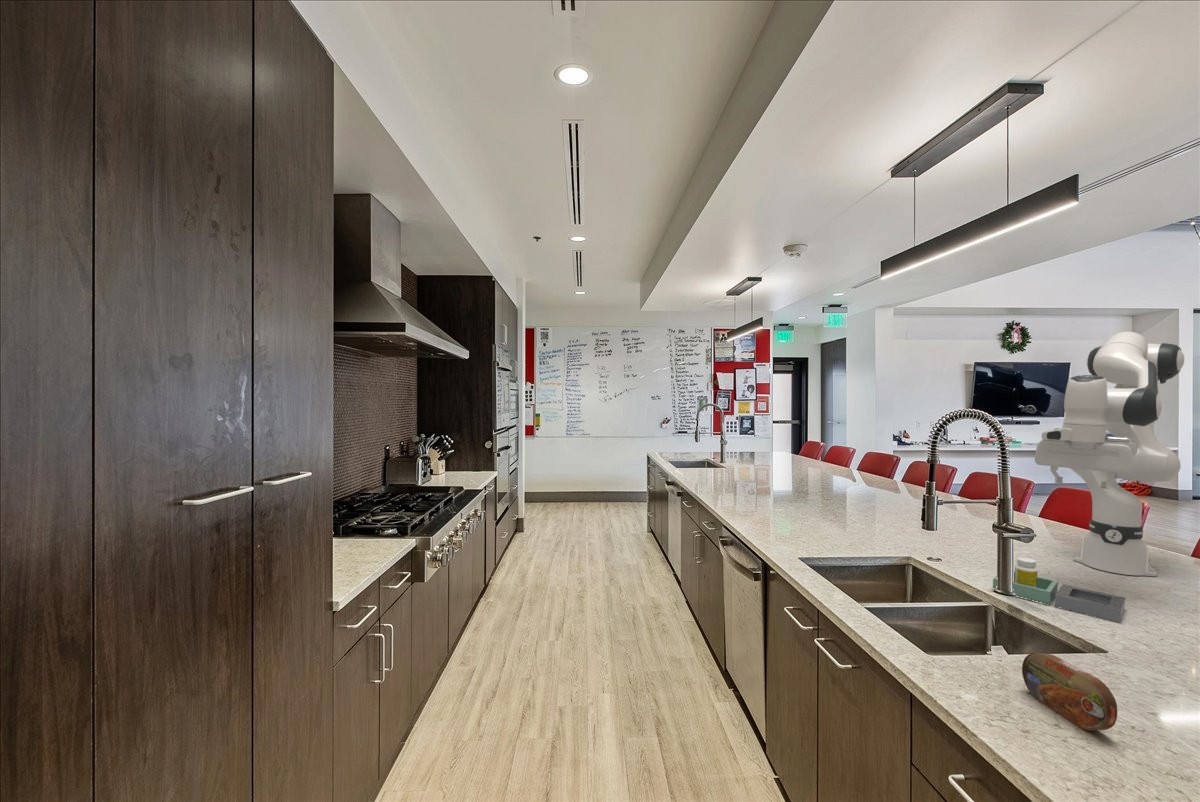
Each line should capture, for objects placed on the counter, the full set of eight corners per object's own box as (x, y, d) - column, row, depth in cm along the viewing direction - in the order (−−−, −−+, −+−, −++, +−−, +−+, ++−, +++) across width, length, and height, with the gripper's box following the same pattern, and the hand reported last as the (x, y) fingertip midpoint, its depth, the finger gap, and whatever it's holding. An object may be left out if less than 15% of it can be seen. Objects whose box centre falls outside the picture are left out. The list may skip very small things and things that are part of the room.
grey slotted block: (1062, 595, 145) (1062, 584, 145) (1124, 609, 136) (1125, 597, 136) (1054, 606, 137) (1055, 595, 137) (1120, 623, 128) (1121, 610, 128)
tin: (1019, 688, 99) (1021, 643, 99) (1035, 688, 99) (1037, 643, 99) (1102, 743, 84) (1105, 690, 84) (1120, 742, 84) (1123, 689, 84)
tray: (1003, 581, 155) (1003, 569, 155) (1057, 593, 146) (1058, 581, 146) (992, 591, 147) (993, 578, 146) (1049, 605, 138) (1050, 592, 138)
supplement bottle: (1040, 594, 143) (1042, 563, 143) (1020, 593, 144) (1021, 561, 144) (1029, 588, 148) (1031, 557, 148) (1010, 586, 149) (1011, 556, 149)
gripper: (1138, 437, 141) (1135, 490, 142) (1038, 431, 156) (1036, 479, 157) (1137, 439, 137) (1134, 493, 138) (1034, 432, 152) (1032, 481, 153)
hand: (1081, 485), depth 147 cm, fingers open, 8 cm apart
